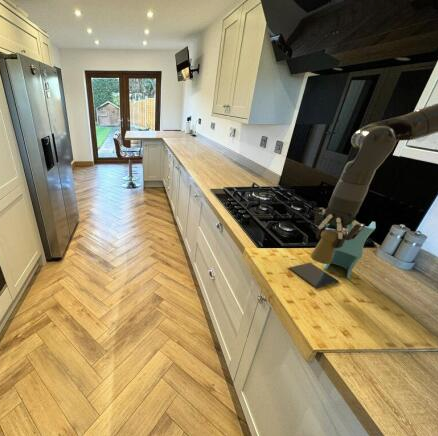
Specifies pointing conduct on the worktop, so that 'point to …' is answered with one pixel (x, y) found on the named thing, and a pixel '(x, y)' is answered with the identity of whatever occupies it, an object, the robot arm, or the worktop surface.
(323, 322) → the worktop surface
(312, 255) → the cork
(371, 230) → the teal waisted stand
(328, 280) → the slate coaster
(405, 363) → the worktop surface
